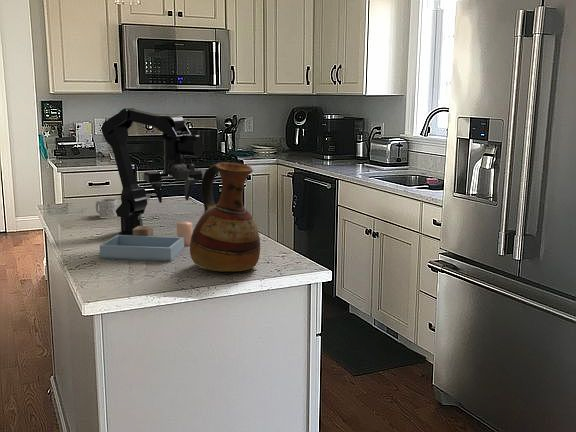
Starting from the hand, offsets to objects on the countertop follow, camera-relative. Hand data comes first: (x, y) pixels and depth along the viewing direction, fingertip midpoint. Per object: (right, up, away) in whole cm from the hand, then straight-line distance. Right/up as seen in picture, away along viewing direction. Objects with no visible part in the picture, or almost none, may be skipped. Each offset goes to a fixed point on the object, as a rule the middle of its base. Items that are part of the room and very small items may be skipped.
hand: (173, 201), depth 210 cm
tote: (-6, -16, -17) cm, 24 cm away
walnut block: (-10, -14, -2) cm, 17 cm away
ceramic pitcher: (+20, -20, -31) cm, 42 cm away
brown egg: (+4, -14, -4) cm, 15 cm away
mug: (-34, -5, +38) cm, 51 cm away
